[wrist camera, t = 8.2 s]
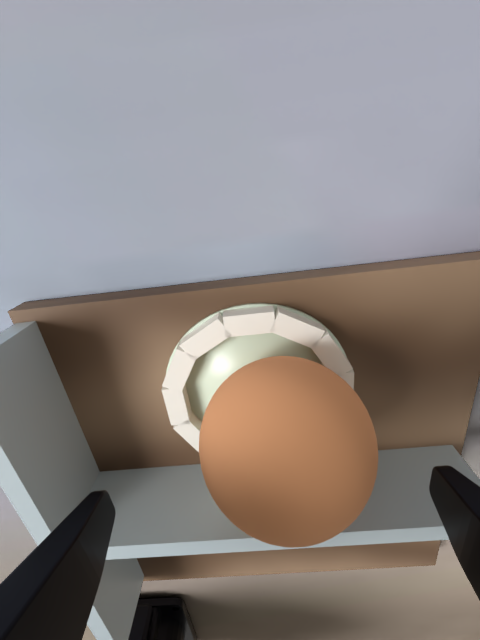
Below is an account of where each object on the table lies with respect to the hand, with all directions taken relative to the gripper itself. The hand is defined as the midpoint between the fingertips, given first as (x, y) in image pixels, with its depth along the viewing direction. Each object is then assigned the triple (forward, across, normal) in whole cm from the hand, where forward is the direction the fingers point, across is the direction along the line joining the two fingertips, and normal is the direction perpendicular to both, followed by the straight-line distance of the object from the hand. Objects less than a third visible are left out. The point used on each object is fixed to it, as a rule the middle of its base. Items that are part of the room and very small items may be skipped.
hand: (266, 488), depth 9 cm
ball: (+2, -1, 0) cm, 2 cm away
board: (+6, 0, +5) cm, 7 cm away
